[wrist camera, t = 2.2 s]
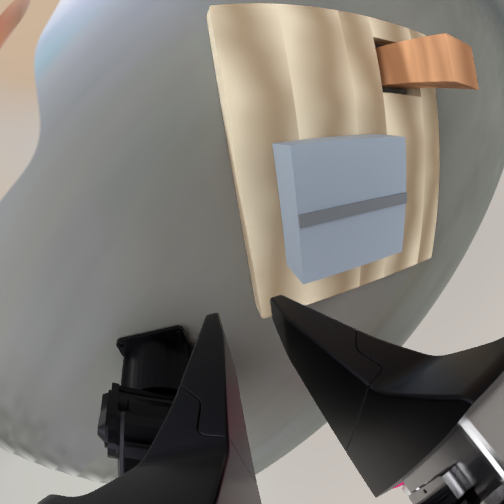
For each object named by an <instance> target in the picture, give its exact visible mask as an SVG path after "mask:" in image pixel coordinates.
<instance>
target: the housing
mask: <svg viewBox="0 0 504 504" xmlns="http://www.w3.org/2000/svg"><path fill="white" fill-rule="evenodd" d="M272 147H273V154H274V161H275V169H276V176H277V184H278V192H279V200H280V208H281V217H282V225H283V234H284V244H285V253H286V263H287V266H288V267H289V268H290V269H291V271H292V272H293V273H294V274H295V275H296V277H297V278H298V279H299V280H300V281H301V283H302V284H306V283H310V282H313V281H316V280H319V279H322V278H326V277H329V276H332V275H335V274H338V273H341V272H344V271H347V270H350V269H353V268H356V267H359V266H362V265H365V264H368V263H371V262H374V261H377V260H379V259H382V258H385V257H388V256H391V255H394V254H396V253H399V252H402V246H403V236H404V223H405V205H406V203H407V192H406V145H405V137H401V136H393V135H384V134H365V135H348V136H334V137H322V138H312V139H303V140H294V141H287V142H279V143H272Z"/></svg>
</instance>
